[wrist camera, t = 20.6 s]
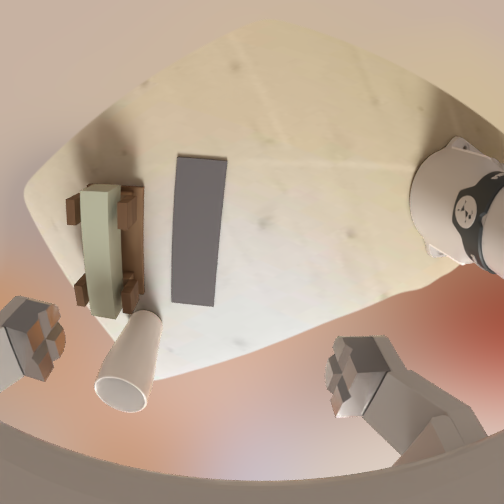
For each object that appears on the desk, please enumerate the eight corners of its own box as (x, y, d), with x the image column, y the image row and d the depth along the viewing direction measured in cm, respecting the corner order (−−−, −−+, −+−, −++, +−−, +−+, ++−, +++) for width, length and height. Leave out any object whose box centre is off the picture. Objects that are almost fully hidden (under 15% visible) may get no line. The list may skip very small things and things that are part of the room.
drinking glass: (164, 345, 46) (144, 419, 32) (123, 332, 45) (93, 402, 31) (172, 312, 43) (150, 387, 30) (128, 298, 42) (92, 367, 28)
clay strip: (94, 183, 33) (79, 190, 29) (120, 184, 33) (107, 192, 29) (102, 299, 39) (91, 315, 35) (124, 302, 39) (115, 319, 35)
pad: (227, 161, 36) (227, 161, 35) (213, 305, 43) (213, 306, 43) (178, 156, 35) (177, 157, 35) (172, 301, 43) (171, 302, 42)
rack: (144, 186, 36) (127, 198, 30) (144, 291, 42) (132, 317, 36) (89, 184, 35) (65, 195, 29) (95, 285, 41) (77, 308, 35)
